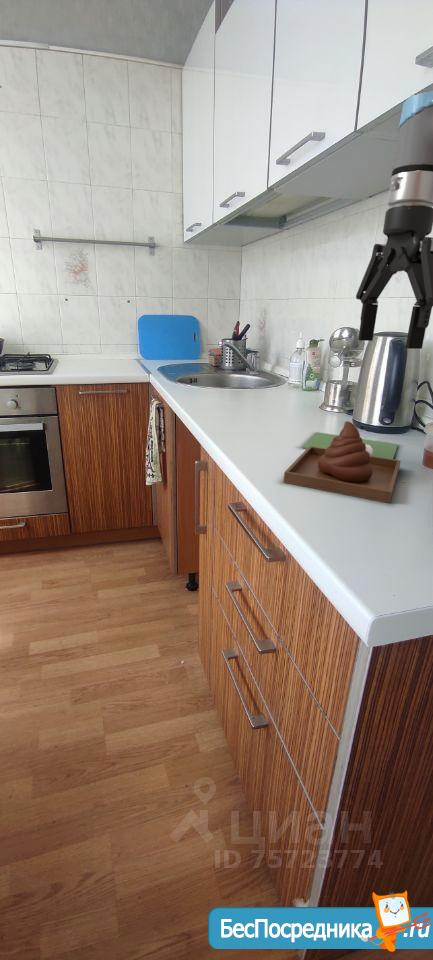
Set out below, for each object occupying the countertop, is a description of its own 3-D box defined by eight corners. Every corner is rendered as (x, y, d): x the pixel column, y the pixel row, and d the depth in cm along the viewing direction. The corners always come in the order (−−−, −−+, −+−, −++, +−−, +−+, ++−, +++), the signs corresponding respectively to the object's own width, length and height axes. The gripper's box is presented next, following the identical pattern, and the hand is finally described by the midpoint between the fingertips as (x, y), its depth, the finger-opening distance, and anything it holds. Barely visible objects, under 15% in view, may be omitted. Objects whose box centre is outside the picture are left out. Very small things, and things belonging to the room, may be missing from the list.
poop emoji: (307, 469, 84) (313, 418, 81) (339, 461, 89) (345, 413, 85) (350, 487, 77) (359, 432, 73) (382, 478, 81) (392, 426, 78)
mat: (397, 445, 102) (397, 444, 102) (391, 462, 91) (392, 461, 91) (316, 433, 109) (316, 432, 109) (302, 447, 98) (302, 446, 98)
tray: (398, 470, 87) (400, 460, 86) (389, 503, 72) (391, 492, 72) (308, 454, 93) (309, 445, 93) (283, 482, 79) (284, 472, 78)
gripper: (347, 216, 85) (332, 337, 93) (449, 190, 63) (418, 352, 71) (382, 220, 87) (364, 337, 95) (492, 196, 65) (457, 352, 73)
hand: (387, 344), depth 83 cm, fingers open, 13 cm apart
